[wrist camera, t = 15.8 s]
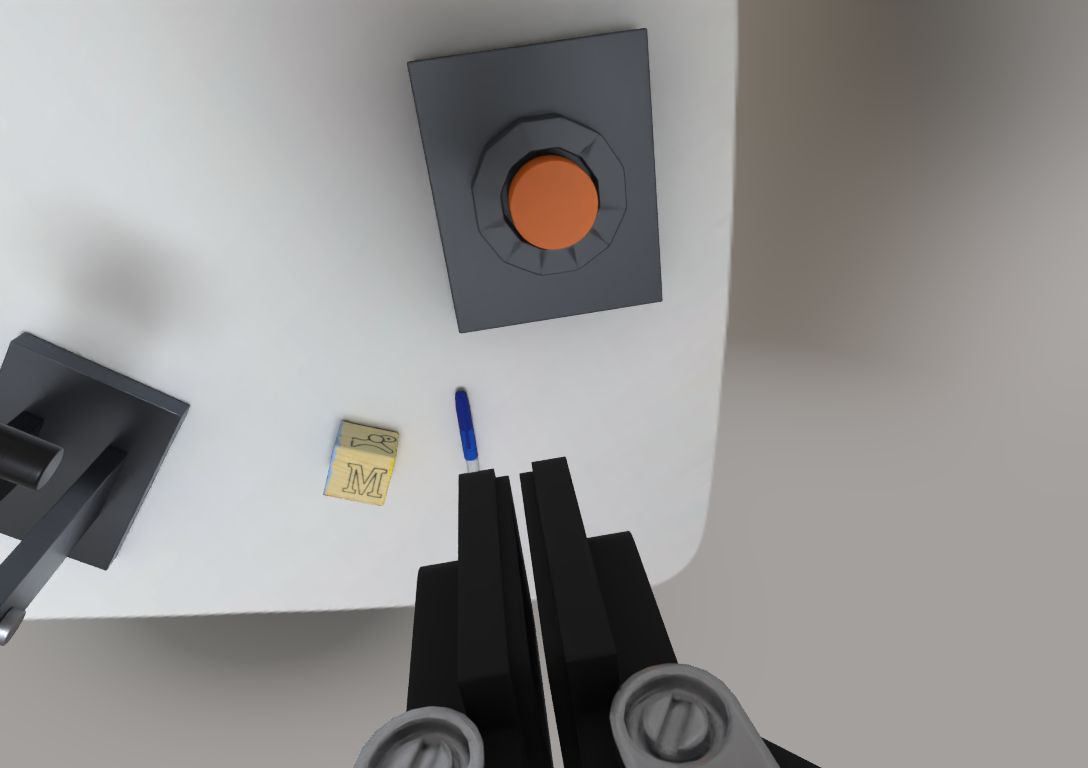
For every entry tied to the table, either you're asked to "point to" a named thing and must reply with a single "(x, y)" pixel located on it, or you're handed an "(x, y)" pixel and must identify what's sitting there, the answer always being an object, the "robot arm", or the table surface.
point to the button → (552, 202)
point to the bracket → (75, 464)
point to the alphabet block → (361, 464)
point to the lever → (27, 458)
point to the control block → (521, 135)
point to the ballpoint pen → (466, 431)
